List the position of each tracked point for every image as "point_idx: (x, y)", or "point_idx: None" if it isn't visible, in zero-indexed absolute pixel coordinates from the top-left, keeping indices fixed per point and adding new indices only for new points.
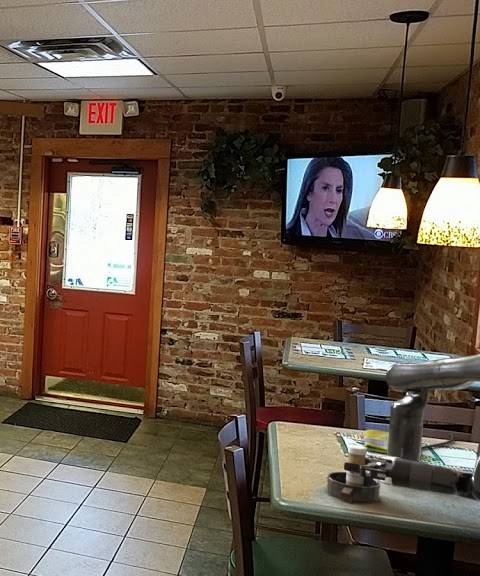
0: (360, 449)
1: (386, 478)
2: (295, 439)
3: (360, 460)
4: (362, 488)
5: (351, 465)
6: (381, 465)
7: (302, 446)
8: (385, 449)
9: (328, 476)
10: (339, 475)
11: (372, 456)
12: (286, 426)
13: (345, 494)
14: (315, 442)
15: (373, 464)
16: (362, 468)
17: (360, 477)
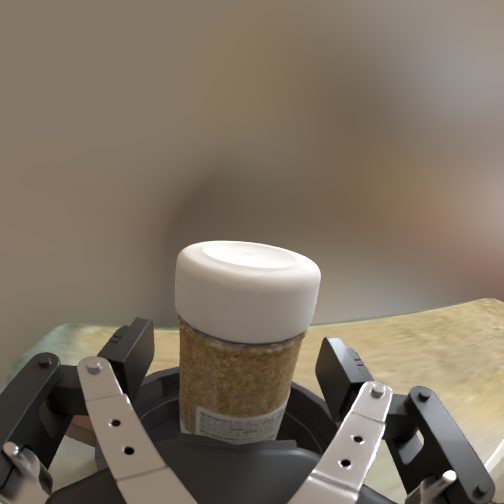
0: (179, 260)
1: (492, 475)
2: (478, 314)
3: (185, 358)
4: (97, 464)
5: (116, 339)
6: (124, 500)
7: (469, 324)
8: None
9: None
10: (295, 399)
11: (432, 399)
12: (494, 303)
13: None
14: (498, 326)
15: (93, 421)
16: (35, 358)
17: None
